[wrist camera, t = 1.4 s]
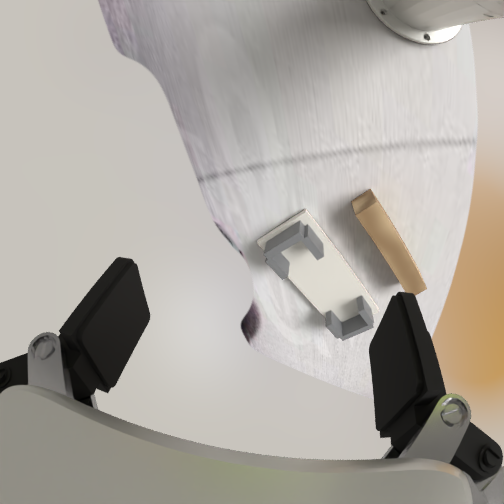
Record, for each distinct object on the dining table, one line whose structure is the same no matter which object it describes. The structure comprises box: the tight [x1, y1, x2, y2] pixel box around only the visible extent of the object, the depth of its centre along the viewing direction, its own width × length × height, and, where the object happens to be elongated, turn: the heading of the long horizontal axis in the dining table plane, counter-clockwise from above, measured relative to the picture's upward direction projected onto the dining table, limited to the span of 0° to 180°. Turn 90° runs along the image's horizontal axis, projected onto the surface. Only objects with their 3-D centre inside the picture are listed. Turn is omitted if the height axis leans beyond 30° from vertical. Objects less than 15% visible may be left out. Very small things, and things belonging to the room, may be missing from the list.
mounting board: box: [257, 209, 379, 340], centre depth 40 cm, size 8×21×4 cm, turn 41°
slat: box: [351, 189, 427, 295], centre depth 35 cm, size 3×16×4 cm, turn 42°
